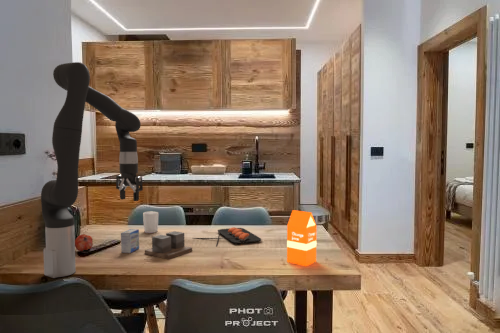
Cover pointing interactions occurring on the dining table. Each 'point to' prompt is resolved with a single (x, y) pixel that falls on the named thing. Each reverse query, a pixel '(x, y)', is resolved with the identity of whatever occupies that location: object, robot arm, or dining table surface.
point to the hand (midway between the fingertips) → (129, 200)
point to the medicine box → (129, 241)
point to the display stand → (168, 245)
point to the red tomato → (83, 242)
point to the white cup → (150, 221)
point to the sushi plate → (236, 235)
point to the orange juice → (301, 238)
